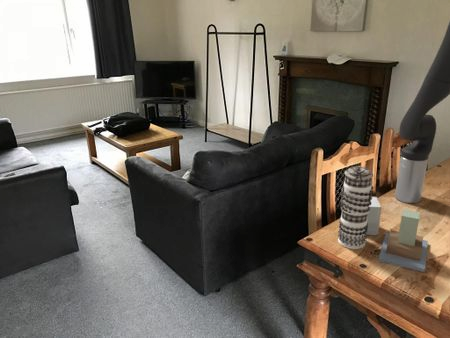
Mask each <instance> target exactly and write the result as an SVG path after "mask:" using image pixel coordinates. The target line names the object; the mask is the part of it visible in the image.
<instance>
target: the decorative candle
mask: <svg viewBox="0 0 450 338" xmlns="http://www.w3.org/2000/svg"><path fill="white" fill-rule="evenodd" d="M343 174H344V175H345V177H344V182H343V186H342V187H341V191H340V192H341V193H340V197H341V198H340V209H341V215H340V219H339V222H338V223H339V225H338V231H337V233H338V234H337V238H338V239H337V241H338V243H339V244H340V245H341V246H342V247H345V248H347V249H351V250H358V249H363V248H364V247H365V246H366V244H367V243H366V242H367V236H368V235H367V233H366V232H367V228H368V224H367V219H368V218H367V214H368V213H369V211H370V207H368V206H369V205H371V200H372V197H373V196H372V195H374V186H372V181H373V177H374V174H373V172H371V170H370V169H369V168H367V167H365V166H360V165H358V166H357V165H356V166H355V165H354V166H351V167H348V169H346V170H345V171H344V173H343ZM368 202H369V203H368Z"/></svg>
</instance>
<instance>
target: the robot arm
mask: <svg viewBox="0 0 450 338" xmlns="http://www.w3.org/2000/svg"><path fill="white" fill-rule="evenodd" d="M449 95H450V21H449V22H448V25H447V28H446V31H445V34H444V37H443V38H442V42H441V44H440V46H439V49H438V51H437V52H436V55H435V57H434V59H433V61H432V63H431V65H430V67H429V69H428V72H427V73H426V75H425V77H424V79H423V82H422V83H421V86H420V88H419V90H418V91H417V95H415V97H414V100H413V101H412V103H411V104H410V106H409V108H408V110H407V111H406V112H405V114H404V116H403V117H402V119H401V121H400V124H399V128H398V129H399V130H398V131H399V132H398V133H399V136H400V138H401V139H403V141H413V142H411V143H409V145H406V146H404V147H403V148H401V152H400V160H399V166H398V173H397V181H396V186H395V191H394V197H395V199H396V200H398V201H400V202H403V203H405V204H406V203H408V204H417V203H420V202H421V200H422V196H423V195H422V194H423V189H424V183H425V177H426V172H427V165H428V161H429V156H430V154H431V152H432V150H433V145H434V142H435V141H434V140H435V138H436V134H437V132H436V131H437V121H436V118H435V117H434V116H433V115H431V114H428V112H430V110H432V109H433V108H434V107H436V106H437V105H438V104H440V103H441V102H442V101H444V99H446V98H447V97H448V96H449Z"/></svg>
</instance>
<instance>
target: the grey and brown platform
mask: <svg viewBox="0 0 450 338" xmlns="http://www.w3.org/2000/svg"><path fill="white" fill-rule="evenodd" d="M398 236H399V231H397V230H393V229H392V230H390V231H389V232H388V231H386V232H385V236H384V238H383V242H382V246H381V248H380V249H381V250H380V252H379V257H378V261H379V262H381V263H386V264H388V265H389V264H390V265H393V266H397V267H402V268H406V269H409V270H414V271H419V272H422V273H425V271H426V266H427V265H426V263H427V253H428V240H426V239H424V236H421V235H417V234H416V239H415V245H414V246H411V245H406V244H401V243H397V242H398Z"/></svg>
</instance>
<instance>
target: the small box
mask: <svg viewBox="0 0 450 338" xmlns="http://www.w3.org/2000/svg"><path fill="white" fill-rule="evenodd" d="M371 197H372V200H371V205H369V206H368V207H370V211H369V213H368V214H367V218H368V219H367V224H368V228H367V232H366V233H367V235H366V236H379V229H380V222H381V214H382V206H381V204H380V202H379V198H378V197H377V196H371ZM368 203H369V202H368Z"/></svg>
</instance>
